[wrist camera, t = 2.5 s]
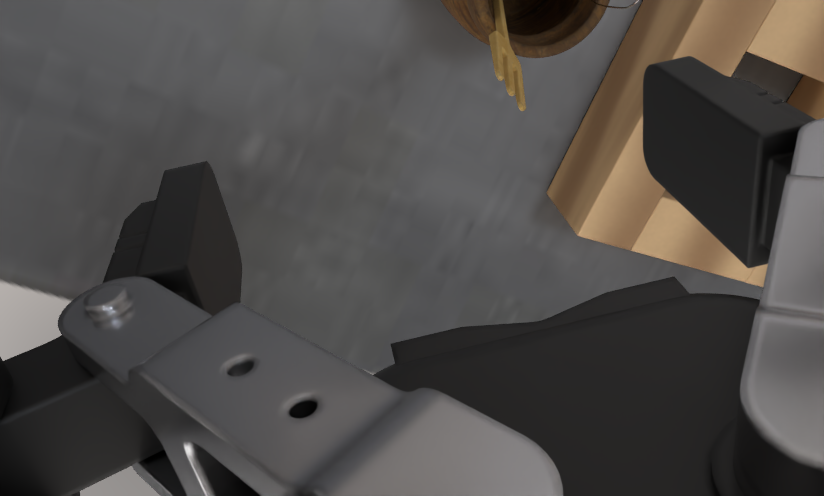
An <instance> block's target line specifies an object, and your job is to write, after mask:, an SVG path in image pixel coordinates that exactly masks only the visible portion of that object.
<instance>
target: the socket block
mask: <svg viewBox="0 0 824 496" xmlns="http://www.w3.org/2000/svg"><path fill="white" fill-rule="evenodd" d="M746 51H747V52H749V53H752V54H754V55H757V56H759V57H762V58H764V59H767V60H769V61H772V62H774V63H776V64H779V65H781V66H784V67H786V68H789V69H791V70H794V71H796V72H799V73H801V74H804V75H803V77H802V78H801V80H800V81H799V83H798V85H797V86H796V88H795V89H794V91H793V93H792V94H791V96H790V98H789V99H788V101H787V102H786V103H788V104H790V105H791V106H793V107H795V108H797V109H799V110H800V111H802V112H804V113H806V114H807V115H809V116H811V117H813V118H814V119H816V120H818V119H822V118H824V0H643V2H642V4H641V5H640V7H639V9H638V11H637V13H636V15H635V17H634V19H633V21H632V23H631V25H630V27H629V29H628V31H627V33H626V35H625V37H624V39H623V41H622V43H621V45H620V47H619V49H618V51H617V53H616V55H615V57H614V59H613V61H612V63H611V65H610V67H609V69H608V71H607V73H606V75H605V77H604V79H603V81H602V83H601V85H600V87H599V89H598V91H597V93H596V95H595V97H594V99H593V101H592V103H591V105H590V107H589V109H588V111H587V113H586V115H585V117H584V119H583V121H582V123H581V125H580V127H579V129H578V131H577V133H576V135H575V137H574V139H573V141H572V143H571V145H570V147H569V149H568V151H567V153H566V155H565V157H564V159H563V161H562V163H561V165H560V167H559V169H558V171H557V173H556V175H555V177H554V179H553V181H552V183H551V185H550V187H549V189H548V191H547V195H548V196H549V197H550V199H551V200H552V201H553V203H554V204H555V206H556V207H557V208H558V210H559V211H560V212H561V214H562V215H563V216H564V218H565V219H566V221H567V222H568V223H569V225H570V226H571V227H572V229H573V230H574V232H575V233H576V234H577V235H578V236H580V237H584V238H587V239H591V240H595V241H598V242H602V243H606V244H609V245H613V246H616V247H620V248H624V249H627V250H631V251H634V252H638V253H642V254H645V255H649V256H652V257H656V258H660V259H663V260H667V261H670V262H674V263H678V264H681V265H685V266H689V267H692V268H696V269H699V270H703V271H707V272H710V273H714V274H717V275H721V276H725V277H728V278H732V279H736V280H739V281H743V282H746V283H749V284H753V285H757V286H760V287H763V285H764V280H765V276H766V271H767V266H768V264H765V265H761V266H757V267H753V268H747V267H746V266H745V265H744V264H743V263H742V262H741V261H740V260H739V259H738V258H737V257H736V256H735V255H734V254H733V253H731V252H730V251H729V250H728V249H727V248H726V247H725V246H724V245H723V244H722V243H721V242H720V241H719V240H718V239H717V238H716V237H715V236H714V235H713V234H712V233H711V232H710V231H709V230H707V229H706V228H705V227H704V226H703V225H702V224H701V223H700V222H699V221H698V220H697V219H696V218H695V217H694V216H693V215H692V214H691V213H690V212H689V211H688V210H687V209H686V208H684V207H683V206H682V205H681V204H680V203H679V202H678V201H677V200H676V199H675V198H674V197H673V196H672V195H671V194H670V193H669V192H668V191H667V190H666V189H665V188H664V187H663V186H662V185H660V184H659V183H658V182H657V181H656V180H655V179H654V178H653V177H652V175H651V174H650V172H649V170H648V168H647V165H646V162H645V158H644V153H643V77H644V73H645V70H646V68H647V66H649V65H650V64H654V63H659V62H663V61H668V60H673V59H677V58H682V57H686V56H692V57H694V58H696V59H697V60H699V61H701V62H703V63H704V64H706V65H708V66H709V67H711V68H713V69H715V70H716V71H718V72H720V73H721V74H723V75H725V76H729V77H731V76H732V74H733V72H734V71H735V69H736V67H737V66H738V64H739V62H740V60H741V59H742V57H743V55H744V54H745V52H746Z"/></svg>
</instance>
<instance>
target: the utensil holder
mask: <svg viewBox="0 0 824 496" xmlns="http://www.w3.org/2000/svg"><path fill="white" fill-rule="evenodd" d="M609 1H610V0H441V2H442V3H443V5H444V6H445V7H446V8H447V10H448V11H449V12H450V13H451V14H452V16H453V17H454V18H455V19H456V20H457V21H458V22H459V23H460V24H461V25H462V26H463V27H464V28H465V29H466V30H467V31H468V32H469V33H470V34H472V35H473V36H474V37H476V38H477V39H479V40H480V41H482V42H484V43H486V44H488V45H490V47H491V52H492V58H493V63H494V69H495V74H496V76H497V78H498V79H499V80H500V81H502V80H503V79H505V84H506V89H507V92H508V93H509V95H510V96H513V95H515V96H516V100H517V105H518V107H519V109H520V110H521V111H524V110H525V109H526V105H525V96H524V88H523V79H522V70H521V65H520V63H519V61H518V59H517V57H516V55H518V56H522V57H529V58H542V57H549V56H553V55H556V54H559V53H562V52H564V51H566V50H568V49H570V48H572V47H574V46H575V45H577V44H578V43H579V42H581V41H582V40H583V39H584V38H585V37H586V36H587V35H588V34H589V33H590V32H591V31H592V30H593V29H594V28H595V27H596V25H597V24H598V22H599V21H600V19H601V18H602V16H603V14H604V12H605V10H606V8H607V7H609V8H617V9H626V8H629V7H631V6H633V5H634V4H636V3H637V2H638V1H639V0H637V1H636V2H635V3H633V4H632V5H630V6H628V7H612V6H608V3H609Z"/></svg>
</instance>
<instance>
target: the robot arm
mask: <svg viewBox="0 0 824 496" xmlns="http://www.w3.org/2000/svg"><path fill="white" fill-rule="evenodd" d="M643 153H644V158H645V162H646V165H647V168H648V170H649V172H650V174H651V175H652V177H653V178H654V179H655V180H656V181H657V182H658V183H659V184H660V185H662V186H663V187H664V188H665V189H666V190H667V191H668V192H669V193H670V194H671V195H672V196H673V197H674V198H675V199H676V200H677V201H678V202H679V203H680V204H681V205H682V206H683V207H684V208H686V209H687V210H688V211H689V212H690V213H691V214H692V215H693V216H694V217H695V218H696V219H697V220H698V221H699V222H700V223H701V224H702V225H703V226H704V227H705V228H706V229H707V230H709V231H710V232H711V233H712V234H713V235H714V236H715V237H716V238H717V239H718V240H719V241H720V242H721V243H722V244H723V245H724V246H725V247H726V248H727V249H728V250H729V251H730V252H731V253H733V254H734V255H735V256H736V257H737V258H738V259H739V260H740V261H741V262H742V263H743V264H744V265H745V266H746V267H747V268H753V267H757V266H761V265H765V264H768V266H767V271H766V276H765V280H764V285H763V290H762V295H761V300H758V299H753V298H749V297H742V296H736V295H726V294H706V293H697V294H689V293H688V292H687V291H686V289H685V288H684V287H683V286H682V285H681V284H680V282H679V281H678V280H677V279H676V278H675V277H670V278H666V279H662V280H657V281H653V282H649V283H645V284H641V285H636V286H632V287H628V288H624V289H620V290H615V291H611V292H607V293H604V294H602V295H600V296H597V297H595V298H593V299H591V300H588V301H586V302H584V303H581V304H579V305H577V306H575V307H572V308H570V309H568V310H566V311H563V312H561V313H559V314H557V315H554V316H552V317H550V318H547V319H545V320H542V321H538V322H528V323H513V324H499V325H484V326H469V327H460V328H455V329H451V330H447V331H443V332H439V333H434V334H430V335H426V336H422V337H418V338H413V339H409V340H405V341H401V342H396V343H392V344H391V347H392V352H393V356H394V360H395V364H393V365H391V366H389V367H387V368H385V369H383V370H381V371H379V372H378V373H376V374H374V375H371V374H370V373H368V372H366V371H364V370H362V369H360V368H359V367H357V366H355V365H353V364H351V363H350V362H348V361H346V360H344V359H342V358H340V357H339V356H337V355H335V354H333V353H331V352H329V351H328V350H326V349H324V348H322V347H320V346H319V345H317V344H315V343H313V342H311V341H309V340H308V339H306V338H304V337H302V336H300V335H299V334H297V333H295V332H293V331H291V330H289V329H288V328H286V327H284V326H282V325H280V324H278V323H277V322H275V321H273V320H271V319H269V318H268V317H266V316H264V315H262V314H260V313H258V312H257V311H255V310H253V309H251V308H249V307H248V306H246V305H244V304H241V303H240V297H241V279H242V263H241V257H240V252H239V247H238V243H237V240H236V237H235V234H234V231H233V228H232V225H231V222H230V219H229V216H228V213H227V210H226V207H225V205H224V202H223V199H222V196H221V193H220V190H219V187H218V184H217V181H216V178H215V175H214V173H213V170H212V168H211V166H210V165H209V163H208V162H207V161H206V162H201V163H196V164H192V165H187V166H183V167H178V168H174V169H169V170H165V172H164V174H163V178H162V181H161V185H160V188H159V192H158V195H157V199H156V200H154V201H149V202H145V203H141V204H140V205H139V206H138V207H137V208H136V209H135V210H134V211H133V212H132V213H131V214H130V215H129V216H128V217H127V218H126V219H125V221H124V224H123V227H122V229H121V232H120V235H119V237H120V239H118V241H117V244H116V247H115V253H113V255H112V258H111V261H110V264H109V267H108V269H107V272H106V275H105V278H104V281H103V283H102V284H100V285H98V286H95V287H93V288H91V289H89V290H87V291H86V292H84V293H82V294H81V295H79V296H78V297H77V298H75V299H74V300H73V301H72V302H71V303H70V304H68V305H67V306H66V308H65V309H64V310H63V311H62V313H61V315H60V317H59V320H58V327H59V330H60V332H61V334H62V335H61V336H60V337H58V338H56V339H54V340H52V341H50V342H48V343H46V344H43V345H41V346H39V347H36V348H34V349H32V350H29V351H27V352H24V353H22V354H19V355H17V356H15V357H12V358H10V359H7V360H5V361H2V359H1V357H0V496H80V491H81V490H83V489H85V488H87V487H89V486H91V485H93V484H95V483H97V482H99V481H101V480H103V479H105V478H107V477H109V476H111V475H113V474H115V473H117V472H119V471H121V470H123V469H126V468H128V467H129V466H132V467H133V469H134V470H135V471H136V472H137V474H138V475H139V476H140V477H141V478H143V479H144V480H145V481H146V482H147V483H148V484H149V485H150V486H151V487H152V488H153V489H154V490H155V491H156V492H157V493H158V494H159V495H160V496H824V118H822V119H818V120H816V119H814V118H813V117H811V116H809V115H807V114H806V113H804V112H802V111H800V110H799V109H797V108H795V107H793V106H791V105H790V104H788V103H786V102H785V103H782V100H781V99H779V98H777V97H776V96H774V95H772V94H767V91H765V90H763V89H761V88H760V87H758V86H756V85H754V84H753V83H751V82H749V81H745V80H741V79H737V78H733V77H729V76H725V75H723V74H721V73H720V72H718V71H716V70H715V69H713V68H711V67H709V66H708V65H706V64H704V63H703V62H701V61H699V60H697V59H696V58H694V57H692V56H686V57H682V58H677V59H673V60H668V61H663V62H659V63H654V64H650V65H649V66H647V68H646V70H645V73H644V77H643Z"/></svg>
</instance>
